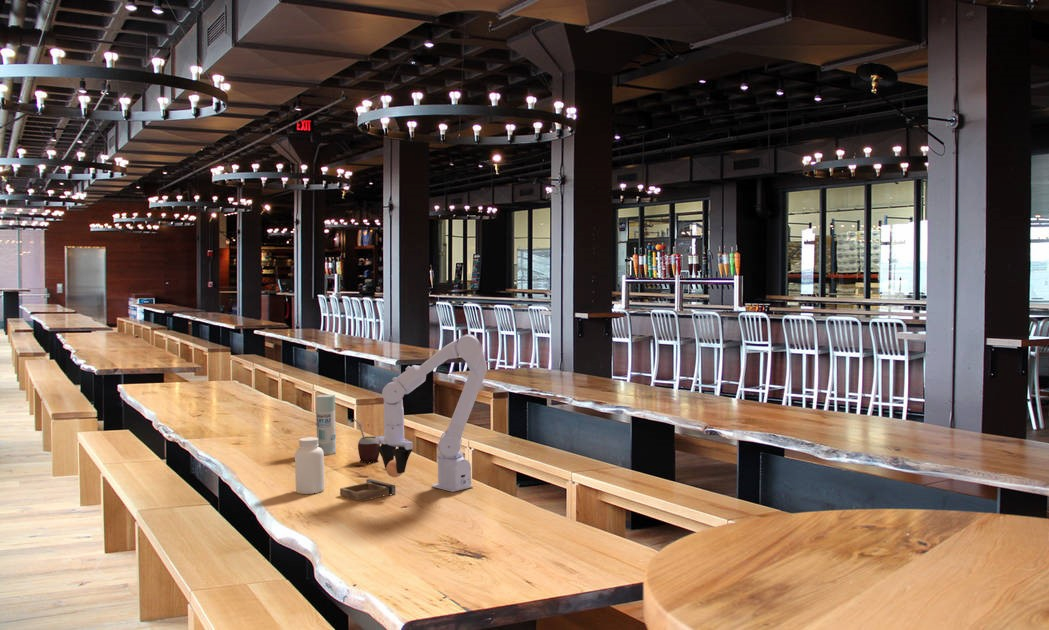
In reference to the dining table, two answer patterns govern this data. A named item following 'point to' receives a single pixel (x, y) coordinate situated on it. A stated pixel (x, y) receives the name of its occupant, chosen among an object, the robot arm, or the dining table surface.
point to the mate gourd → (368, 447)
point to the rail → (390, 486)
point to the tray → (364, 491)
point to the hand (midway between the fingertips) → (395, 471)
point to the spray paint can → (326, 423)
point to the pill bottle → (309, 466)
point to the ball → (392, 469)
